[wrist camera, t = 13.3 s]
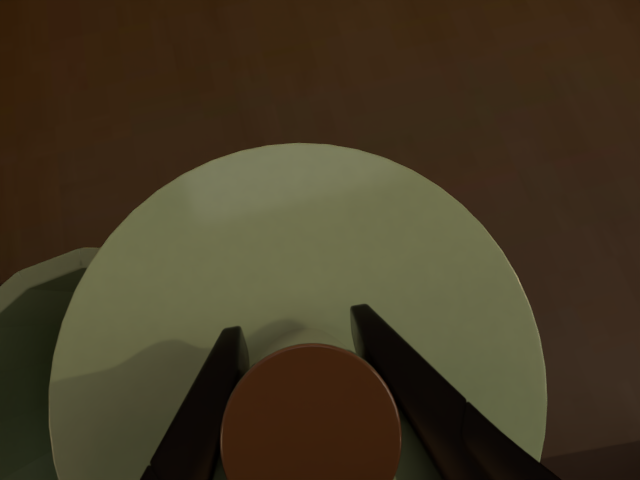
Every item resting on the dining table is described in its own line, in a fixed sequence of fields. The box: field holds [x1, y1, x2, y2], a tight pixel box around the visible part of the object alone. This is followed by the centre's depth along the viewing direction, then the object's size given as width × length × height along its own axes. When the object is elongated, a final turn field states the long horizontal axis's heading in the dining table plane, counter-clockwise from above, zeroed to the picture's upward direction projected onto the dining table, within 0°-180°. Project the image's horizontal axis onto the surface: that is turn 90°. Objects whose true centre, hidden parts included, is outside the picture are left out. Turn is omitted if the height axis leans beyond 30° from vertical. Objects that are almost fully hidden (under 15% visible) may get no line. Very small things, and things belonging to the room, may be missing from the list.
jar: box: [0, 247, 100, 480], centre depth 19 cm, size 12×12×8 cm
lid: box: [49, 143, 547, 480], centre depth 9 cm, size 13×13×6 cm
